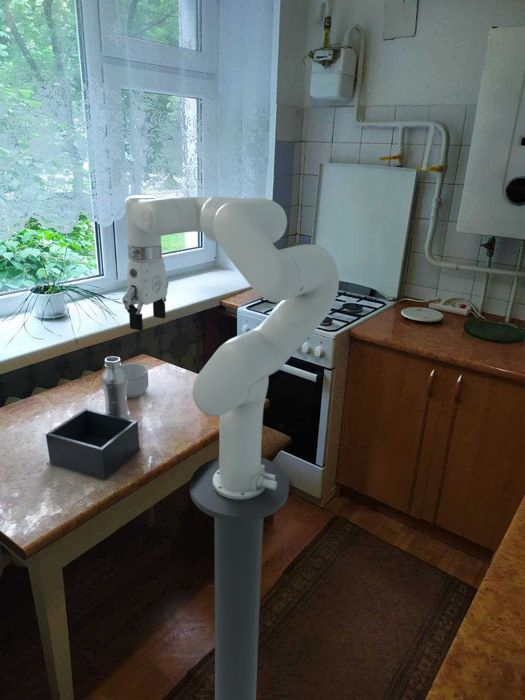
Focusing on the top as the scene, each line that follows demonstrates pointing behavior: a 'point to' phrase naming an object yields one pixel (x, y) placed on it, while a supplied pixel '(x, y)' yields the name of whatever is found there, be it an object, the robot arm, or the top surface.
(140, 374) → the teacup
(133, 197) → the robot arm
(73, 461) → the open box
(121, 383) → the plastic bottle
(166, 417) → the top surface
